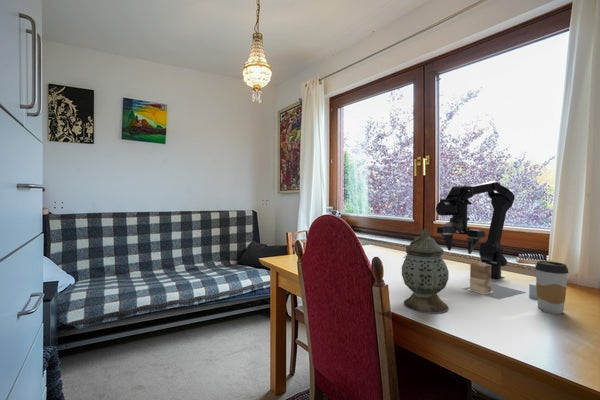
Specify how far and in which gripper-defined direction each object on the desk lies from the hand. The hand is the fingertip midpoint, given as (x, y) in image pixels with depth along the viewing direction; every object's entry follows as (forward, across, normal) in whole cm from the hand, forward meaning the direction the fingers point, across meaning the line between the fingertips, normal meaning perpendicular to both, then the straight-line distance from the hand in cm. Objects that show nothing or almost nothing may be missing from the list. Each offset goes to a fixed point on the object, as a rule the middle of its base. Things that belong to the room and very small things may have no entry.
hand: (459, 252), depth 132 cm
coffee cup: (+13, +35, -5) cm, 38 cm away
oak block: (+12, +13, -6) cm, 19 cm away
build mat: (+12, +15, -1) cm, 20 cm away
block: (+13, +27, +6) cm, 30 cm away
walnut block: (+7, +13, -6) cm, 16 cm away
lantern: (+13, +14, -38) cm, 42 cm away
